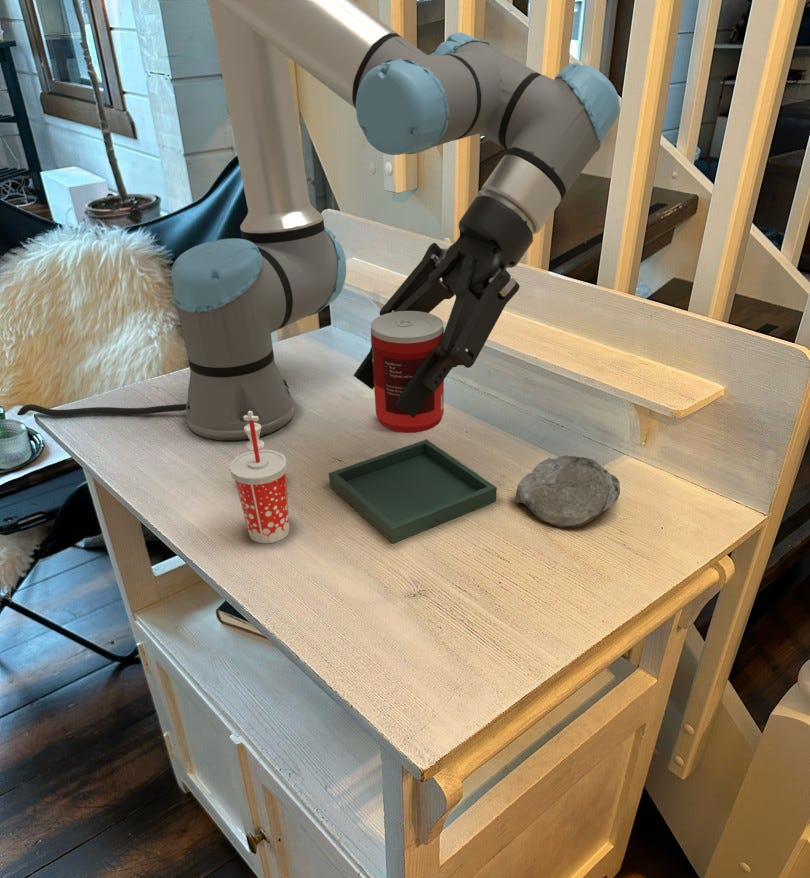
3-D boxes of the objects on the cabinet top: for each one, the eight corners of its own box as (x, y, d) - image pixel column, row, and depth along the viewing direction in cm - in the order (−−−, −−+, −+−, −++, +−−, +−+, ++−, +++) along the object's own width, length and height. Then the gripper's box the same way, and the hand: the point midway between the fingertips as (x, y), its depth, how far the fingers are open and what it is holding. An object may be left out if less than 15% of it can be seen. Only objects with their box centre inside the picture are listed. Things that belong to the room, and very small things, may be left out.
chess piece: (273, 496, 92) (262, 422, 87) (235, 493, 93) (222, 419, 87) (286, 475, 96) (276, 403, 90) (250, 472, 97) (238, 401, 91)
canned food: (415, 396, 90) (412, 305, 84) (458, 420, 85) (459, 324, 78) (362, 415, 86) (355, 321, 80) (404, 441, 81) (400, 343, 75)
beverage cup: (303, 518, 88) (288, 409, 80) (286, 549, 83) (270, 437, 75) (253, 514, 89) (234, 406, 81) (234, 545, 84) (212, 433, 76)
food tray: (329, 486, 94) (328, 472, 93) (426, 452, 100) (426, 439, 99) (392, 543, 84) (392, 528, 83) (496, 501, 90) (497, 487, 89)
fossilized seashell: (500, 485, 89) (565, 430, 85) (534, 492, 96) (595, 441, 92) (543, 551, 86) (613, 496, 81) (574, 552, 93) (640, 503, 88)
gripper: (593, 259, 75) (458, 449, 77) (468, 219, 89) (358, 380, 92) (556, 210, 69) (413, 416, 72) (430, 176, 84) (315, 348, 87)
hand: (382, 396), depth 82 cm, fingers closed on canned food, 8 cm apart
